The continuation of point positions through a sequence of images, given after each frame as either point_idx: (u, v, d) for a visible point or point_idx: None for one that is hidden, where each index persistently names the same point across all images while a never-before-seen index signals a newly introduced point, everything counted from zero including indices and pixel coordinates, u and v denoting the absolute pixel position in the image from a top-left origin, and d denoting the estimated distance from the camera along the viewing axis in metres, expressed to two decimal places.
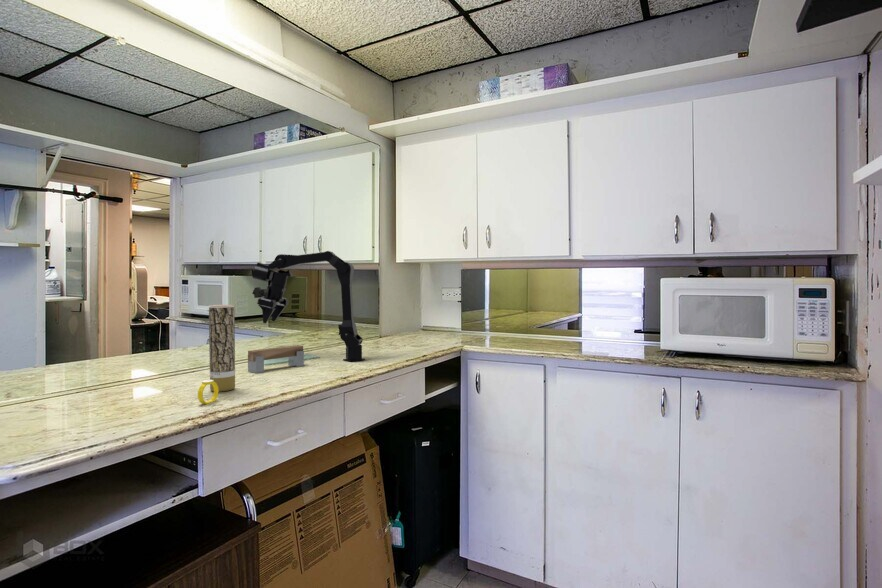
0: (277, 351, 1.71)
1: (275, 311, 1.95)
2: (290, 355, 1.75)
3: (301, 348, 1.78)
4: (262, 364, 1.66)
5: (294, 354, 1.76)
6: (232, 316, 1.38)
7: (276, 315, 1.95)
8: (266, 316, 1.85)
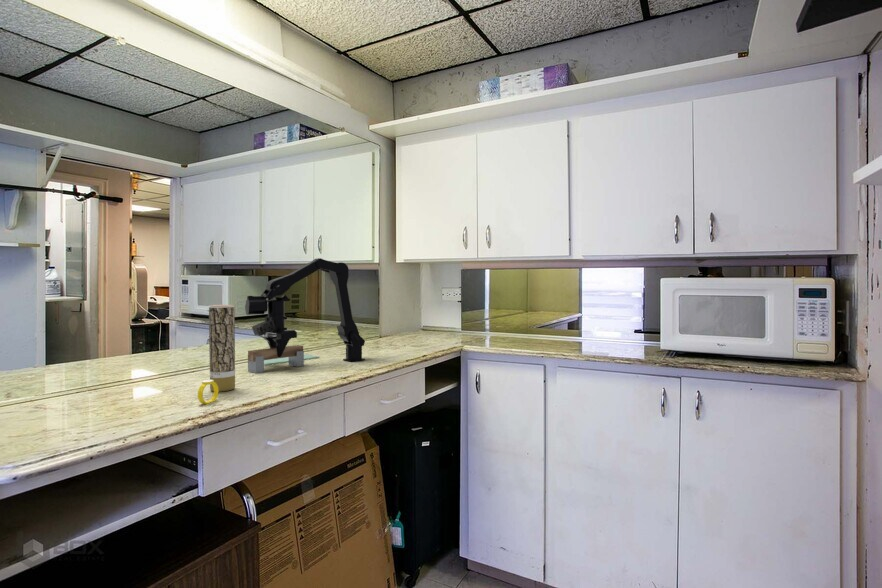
0: None
1: (273, 344, 1.74)
2: (290, 355, 1.75)
3: (301, 348, 1.78)
4: (262, 364, 1.66)
5: (294, 354, 1.76)
6: (232, 316, 1.38)
7: None
8: (282, 348, 1.71)
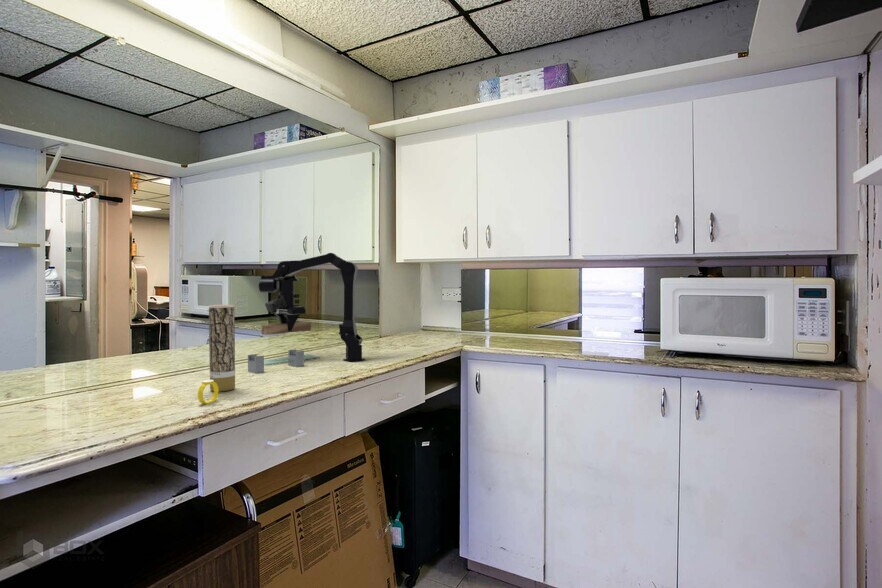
0: (287, 326, 1.88)
1: (284, 320, 1.91)
2: (299, 330, 1.92)
3: (309, 324, 1.96)
4: (262, 364, 1.66)
5: (303, 329, 1.93)
6: (232, 316, 1.38)
7: None
8: (292, 324, 1.88)
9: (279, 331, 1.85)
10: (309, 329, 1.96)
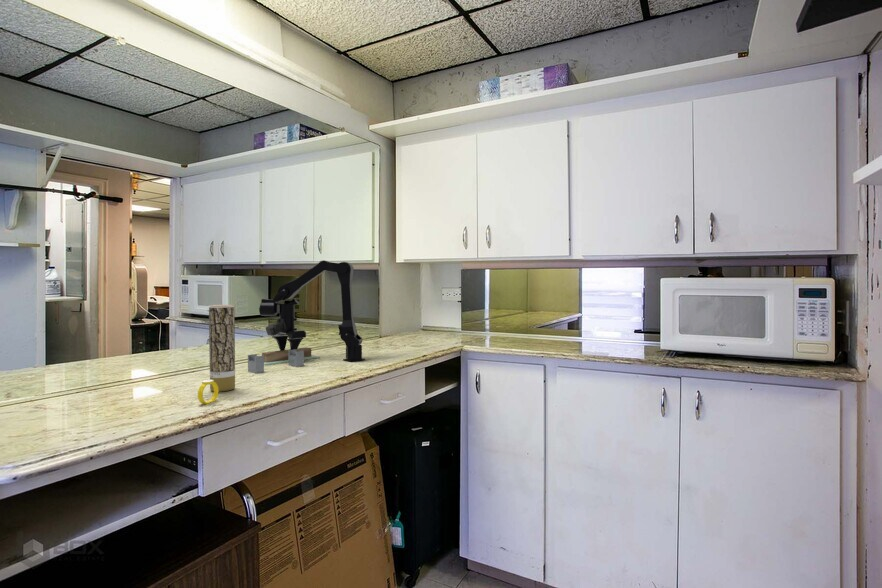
0: None
1: (281, 343, 1.93)
2: None
3: (309, 350, 1.96)
4: (262, 364, 1.66)
5: None
6: (232, 316, 1.38)
7: (284, 346, 1.93)
8: (295, 348, 1.87)
9: (279, 358, 1.86)
10: (309, 355, 1.96)
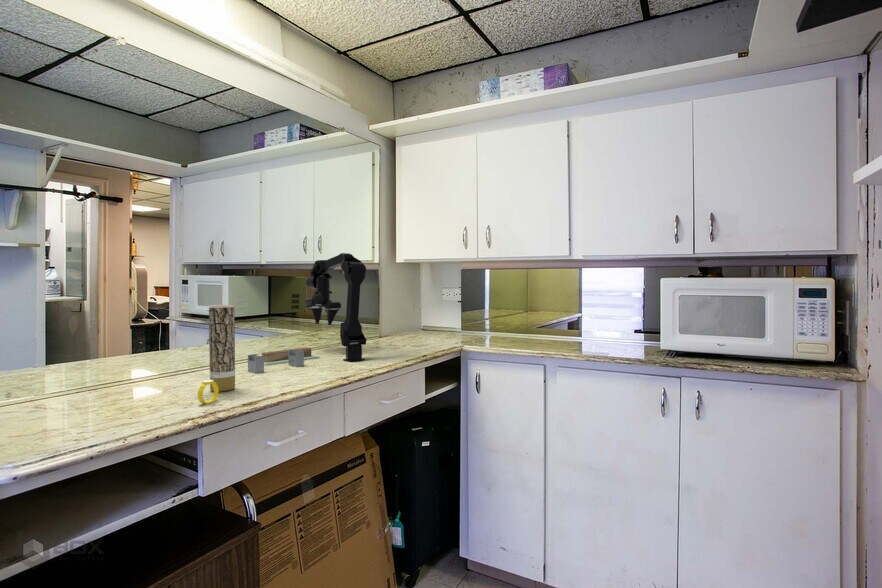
0: None
1: (317, 314, 2.11)
2: None
3: (309, 350, 1.96)
4: (262, 364, 1.66)
5: None
6: (232, 316, 1.38)
7: (318, 317, 2.11)
8: (331, 318, 2.04)
9: (279, 358, 1.86)
10: (309, 355, 1.96)
